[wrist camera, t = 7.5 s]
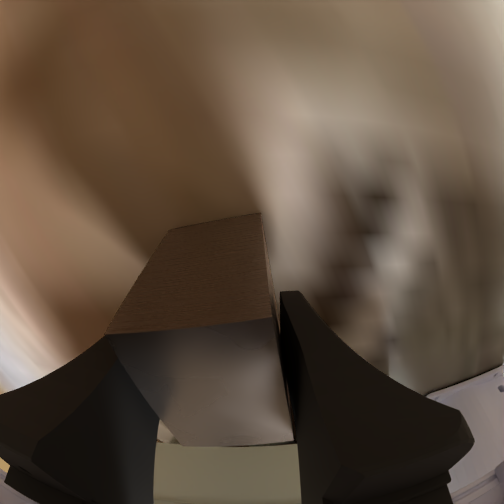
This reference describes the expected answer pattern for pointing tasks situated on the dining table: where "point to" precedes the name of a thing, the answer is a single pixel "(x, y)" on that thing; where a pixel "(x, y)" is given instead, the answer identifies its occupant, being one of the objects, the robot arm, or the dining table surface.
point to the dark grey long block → (208, 337)
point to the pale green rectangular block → (226, 475)
